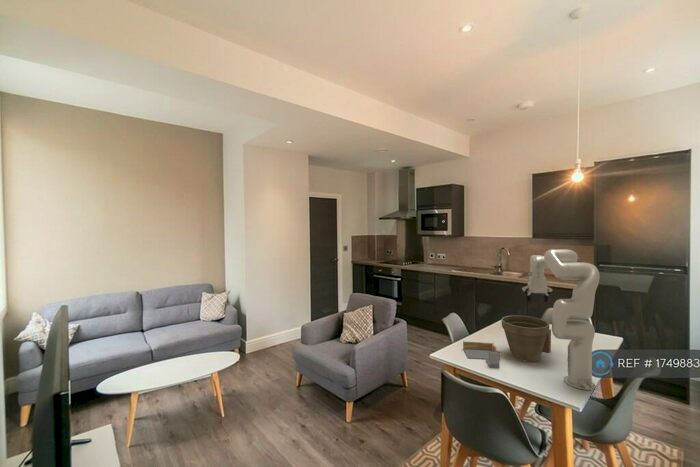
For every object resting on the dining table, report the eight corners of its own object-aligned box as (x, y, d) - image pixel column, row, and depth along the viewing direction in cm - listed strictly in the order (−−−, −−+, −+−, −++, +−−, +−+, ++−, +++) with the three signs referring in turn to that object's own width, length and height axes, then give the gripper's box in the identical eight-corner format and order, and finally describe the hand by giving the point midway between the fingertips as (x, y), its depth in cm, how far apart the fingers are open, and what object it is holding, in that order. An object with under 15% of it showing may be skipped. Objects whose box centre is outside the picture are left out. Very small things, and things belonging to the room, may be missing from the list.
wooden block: (548, 353, 187) (548, 324, 186) (530, 347, 195) (530, 319, 195) (551, 351, 189) (551, 323, 188) (532, 346, 198) (532, 318, 197)
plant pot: (510, 364, 171) (510, 326, 171) (495, 347, 196) (495, 314, 195) (558, 367, 168) (558, 328, 167) (537, 349, 192) (537, 315, 192)
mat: (500, 360, 177) (500, 359, 177) (467, 358, 180) (467, 357, 180) (493, 350, 191) (493, 349, 191) (463, 349, 194) (463, 348, 194)
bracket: (499, 368, 167) (499, 353, 167) (489, 367, 168) (489, 353, 168) (495, 361, 175) (495, 348, 175) (485, 361, 176) (485, 347, 176)
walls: (500, 360, 177) (500, 351, 177) (467, 358, 180) (467, 350, 180) (493, 350, 191) (493, 342, 191) (463, 349, 194) (463, 341, 194)
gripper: (524, 275, 190) (524, 302, 190) (555, 275, 187) (555, 303, 187) (520, 273, 197) (520, 299, 198) (549, 274, 194) (549, 300, 194)
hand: (537, 301), depth 192 cm, fingers open, 9 cm apart
